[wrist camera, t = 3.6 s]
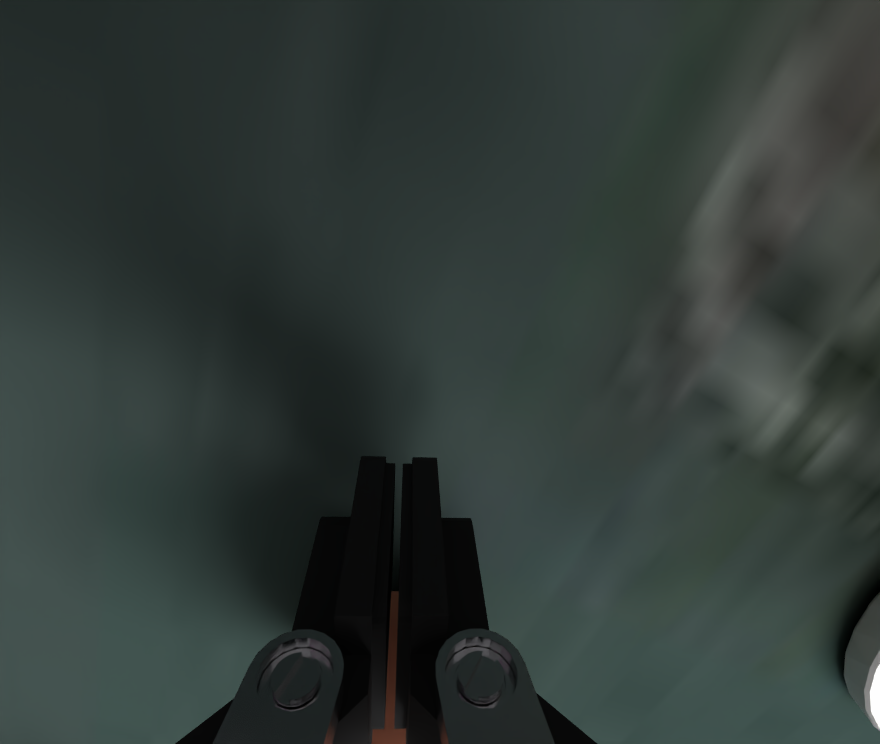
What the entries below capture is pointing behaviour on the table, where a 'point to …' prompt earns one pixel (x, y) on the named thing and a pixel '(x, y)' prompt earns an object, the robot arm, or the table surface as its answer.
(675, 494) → the table surface
